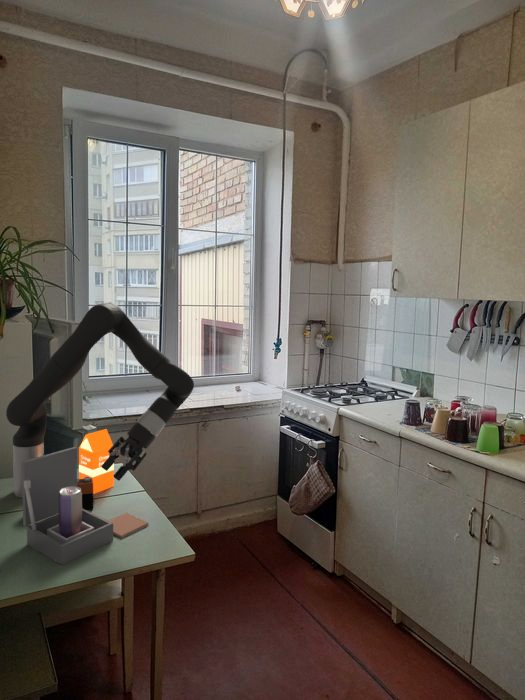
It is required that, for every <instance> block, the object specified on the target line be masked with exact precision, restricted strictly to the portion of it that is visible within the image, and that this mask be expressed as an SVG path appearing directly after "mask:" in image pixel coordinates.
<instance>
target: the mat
mask: <svg viewBox="0 0 525 700" xmlns="http://www.w3.org/2000/svg"><path fill="white" fill-rule="evenodd" d="M107 521H110V522H112V523H113V536H116V537H118V538H119V539H123V538H125V537H127V536H129V535H131V534H133V533H135V532H138V531H139V530H141V529H143V528H146V527H147V526H149V522H147V521H145V520H144V519H141V518H140V517H137V516H135V515H133V514H130V513H129V512H124V513H122V514H119V515H118V516H115V517H114V518H110V519H109V520H107Z"/></svg>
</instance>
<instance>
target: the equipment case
mask: <svg viewBox="0 0 525 700" xmlns="http://www.w3.org/2000/svg"><path fill="white" fill-rule="evenodd" d="M77 449H78V448H77V447H76V446H73V447H69V448H65V449H62V450H58V451H55V452H52V453H48V454H47V453H46V454H44V456H40V457H36V458H33V459H29V460H26V461H22V494H23V498H22V524H23V526H25V527H26V541H27V542H26V543H27V545H28V546H30V547H32V548H33V549H35V550H37V551H38V552H39V553H41V554H43V555H45V556H46V557H48V558H50V559H51V560H53V561H54V562H56V563H58V564H59V565H61V566H63V565H65V564H67V563H69V562H71V561H73V560H75V559H76V558H79V557H81V556H83V555H85V554H87V553H89V552H92V551H93V550H95V549H98V548H100V547H102V546H104V545H107V544H108V543H110V542H112V541H114V534H113V523H112V522H110V521H108V520H107V519H106V518H103V517H101V516H99V515H97V514H95V513H93V512H92V511H90V510H85V509H83V508H82V532H80V533H78V534H75V535H73V536H71V537H69V538H65V537H63V536H61V535H60V534H59V491H60V490H61V489H63V488H66V487H72V486H74V487H77V479H78V456H77V455H78V450H77Z"/></svg>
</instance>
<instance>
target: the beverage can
mask: <svg viewBox="0 0 525 700" xmlns="http://www.w3.org/2000/svg"><path fill="white" fill-rule="evenodd" d="M58 514H59V534H60V535H61V536H63V537H65V538H69V537H71V536H73V535H75V534H78V533H80V532H82V492H81V488H79V487H74V486H72V487H66V488H63V489H61V490H60V491H59V513H58Z"/></svg>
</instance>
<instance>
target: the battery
mask: <svg viewBox="0 0 525 700" xmlns="http://www.w3.org/2000/svg"><path fill="white" fill-rule="evenodd" d="M77 487H79V488H81V492H82V508H83V509H85V510H87V511H92V510H93V509H94V494H93V479H92V478H90V477H84V479H79V478H77Z"/></svg>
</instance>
